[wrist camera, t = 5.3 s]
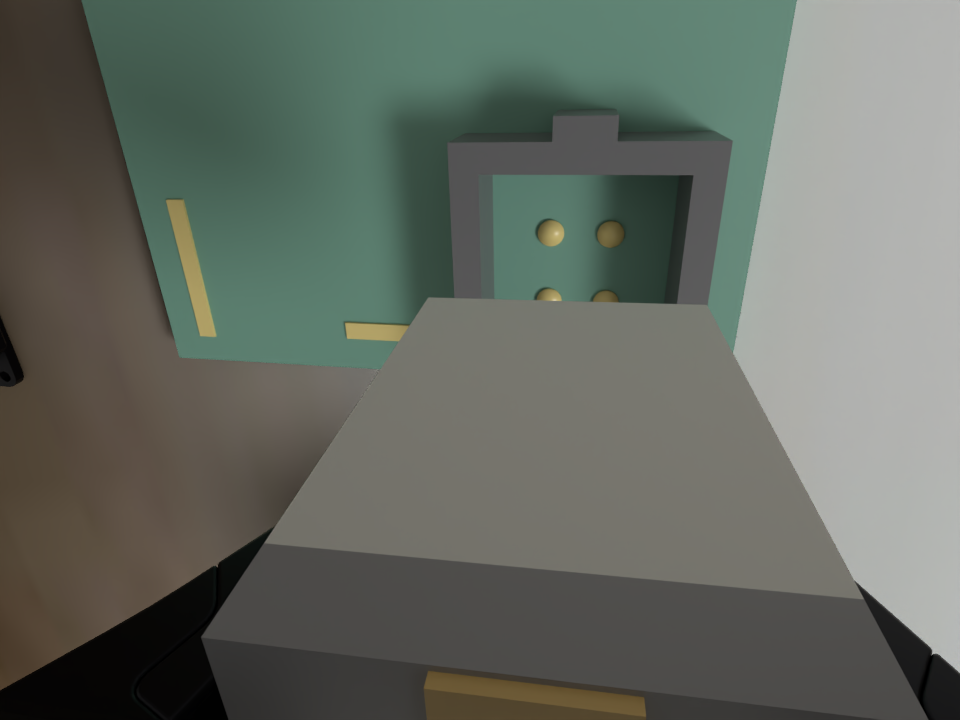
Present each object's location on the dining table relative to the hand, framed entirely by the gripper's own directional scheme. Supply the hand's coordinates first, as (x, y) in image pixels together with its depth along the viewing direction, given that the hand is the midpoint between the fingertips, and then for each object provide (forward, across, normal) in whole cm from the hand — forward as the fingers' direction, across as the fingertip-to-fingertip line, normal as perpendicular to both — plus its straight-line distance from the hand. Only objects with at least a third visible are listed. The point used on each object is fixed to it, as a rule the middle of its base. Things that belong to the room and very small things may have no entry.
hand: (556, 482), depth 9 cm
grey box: (+1, 0, 0) cm, 1 cm away
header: (+11, 0, 0) cm, 11 cm away
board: (+12, +5, -2) cm, 13 cm away
